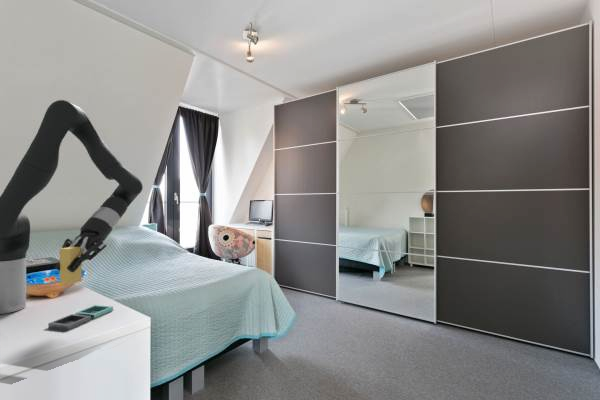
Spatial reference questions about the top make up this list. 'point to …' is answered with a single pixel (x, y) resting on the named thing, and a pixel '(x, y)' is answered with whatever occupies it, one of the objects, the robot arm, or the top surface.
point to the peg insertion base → (78, 318)
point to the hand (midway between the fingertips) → (64, 269)
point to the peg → (65, 260)
